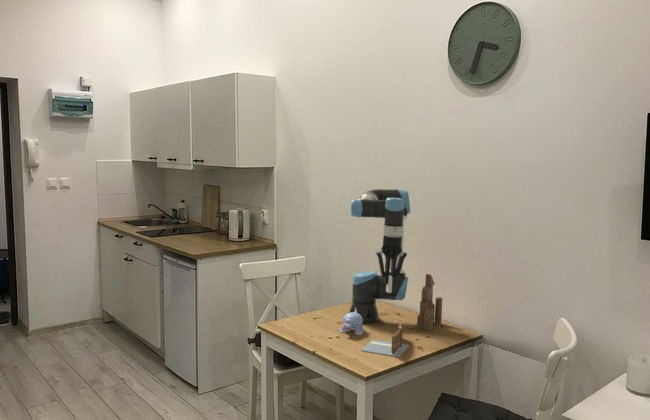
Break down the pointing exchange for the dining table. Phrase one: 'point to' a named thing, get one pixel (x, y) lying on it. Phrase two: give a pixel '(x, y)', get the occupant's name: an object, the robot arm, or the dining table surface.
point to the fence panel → (400, 324)
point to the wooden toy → (429, 307)
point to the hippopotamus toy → (352, 323)
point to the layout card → (383, 348)
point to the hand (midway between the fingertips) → (388, 291)
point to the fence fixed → (396, 341)
